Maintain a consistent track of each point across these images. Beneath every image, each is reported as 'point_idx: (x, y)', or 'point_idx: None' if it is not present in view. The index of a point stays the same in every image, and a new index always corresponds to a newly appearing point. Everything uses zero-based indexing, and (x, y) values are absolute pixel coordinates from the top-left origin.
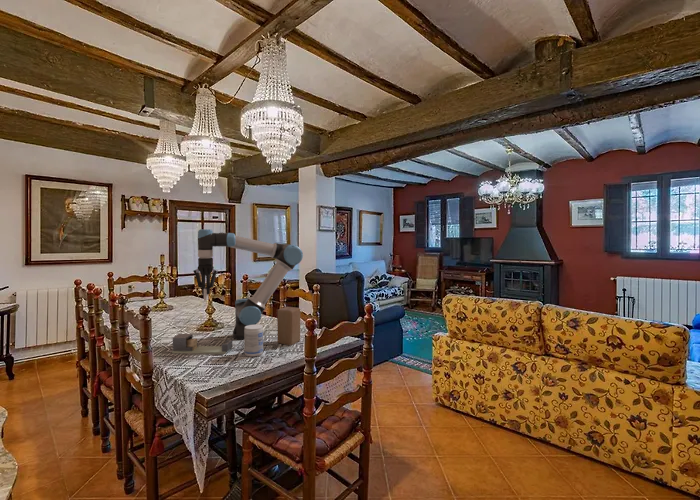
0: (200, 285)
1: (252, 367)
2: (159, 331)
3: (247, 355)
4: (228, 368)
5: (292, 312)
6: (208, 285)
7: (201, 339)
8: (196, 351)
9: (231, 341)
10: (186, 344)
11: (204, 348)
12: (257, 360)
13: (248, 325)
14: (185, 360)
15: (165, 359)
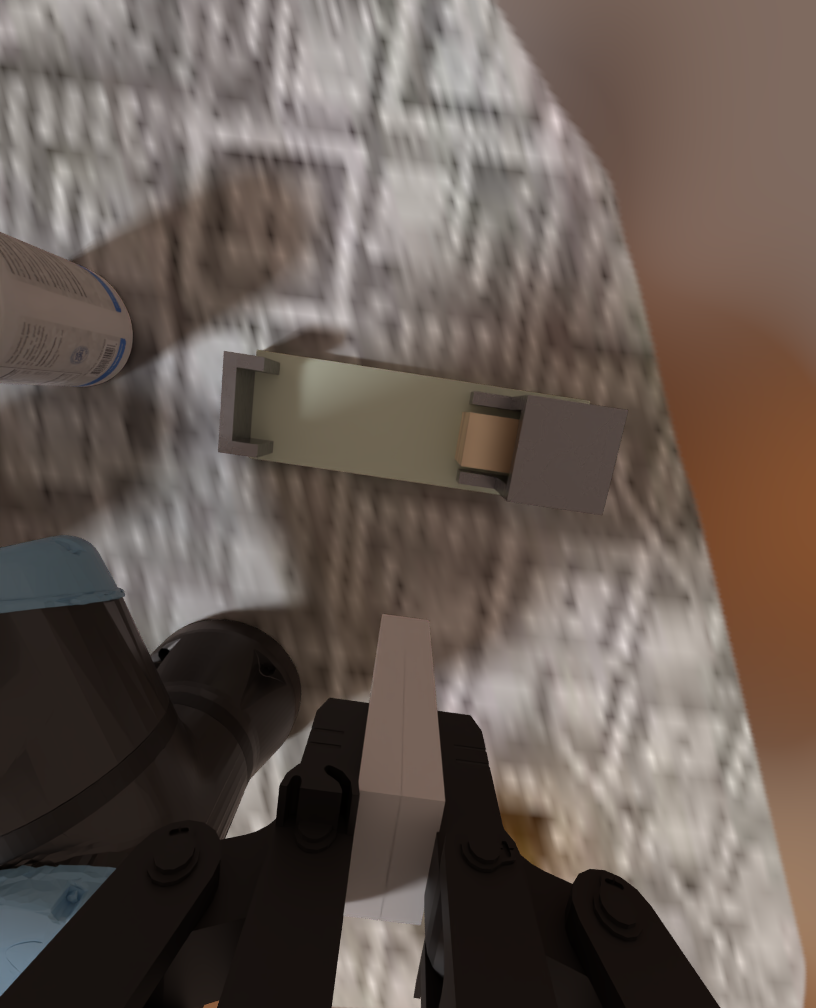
0: (589, 959)
1: (21, 65)
2: (758, 818)
3: (102, 278)
4: (168, 65)
5: None
6: (248, 914)
7: (474, 645)
8: (439, 382)
9: (221, 435)
10: (514, 403)
11: (405, 437)
12: (26, 200)
13: None
14: (472, 255)
15: (597, 290)
